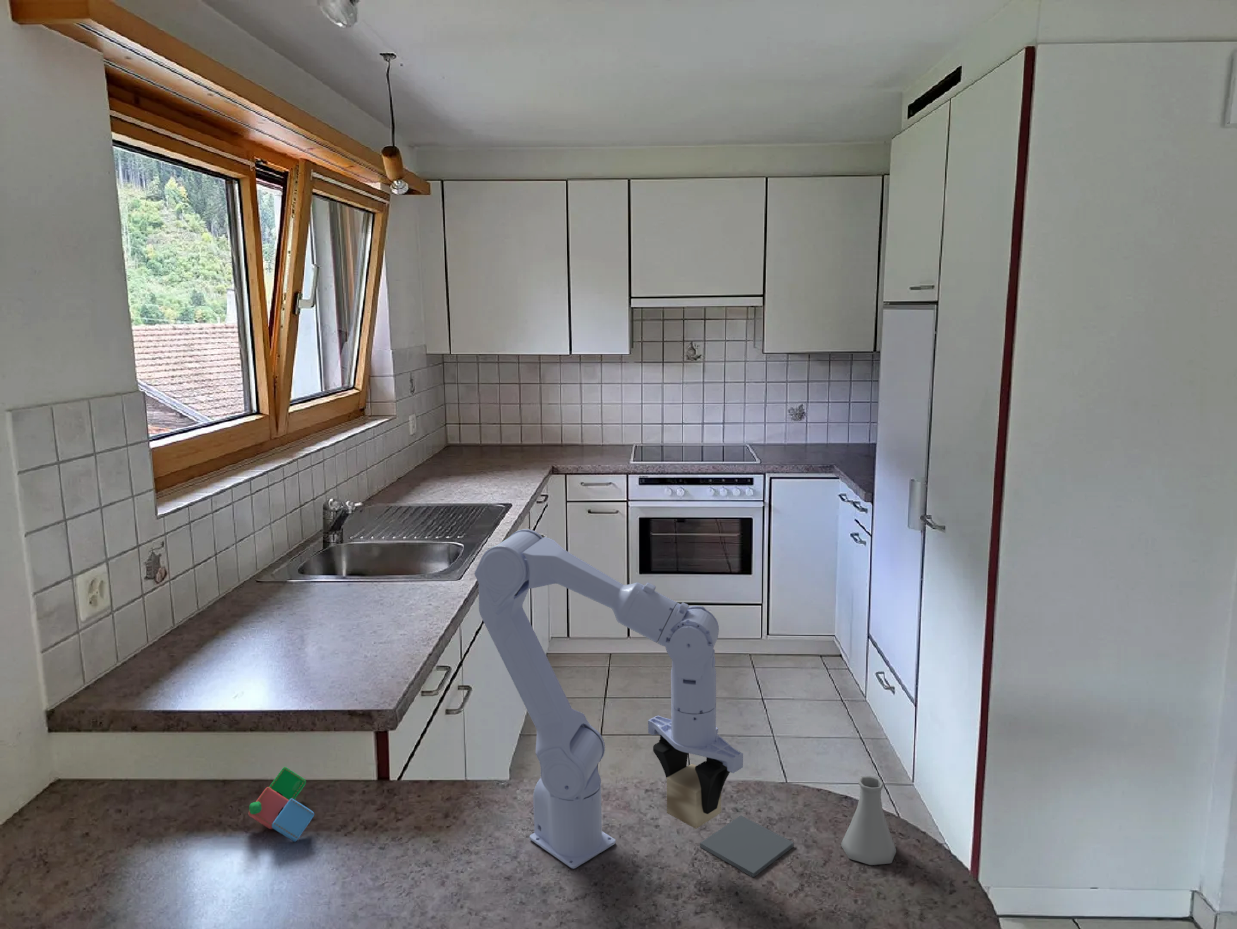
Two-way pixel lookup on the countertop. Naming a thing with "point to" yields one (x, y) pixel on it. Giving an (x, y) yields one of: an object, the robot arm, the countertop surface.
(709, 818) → the block
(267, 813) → the building blocks
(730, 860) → the coaster
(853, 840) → the flask
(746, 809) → the countertop surface
